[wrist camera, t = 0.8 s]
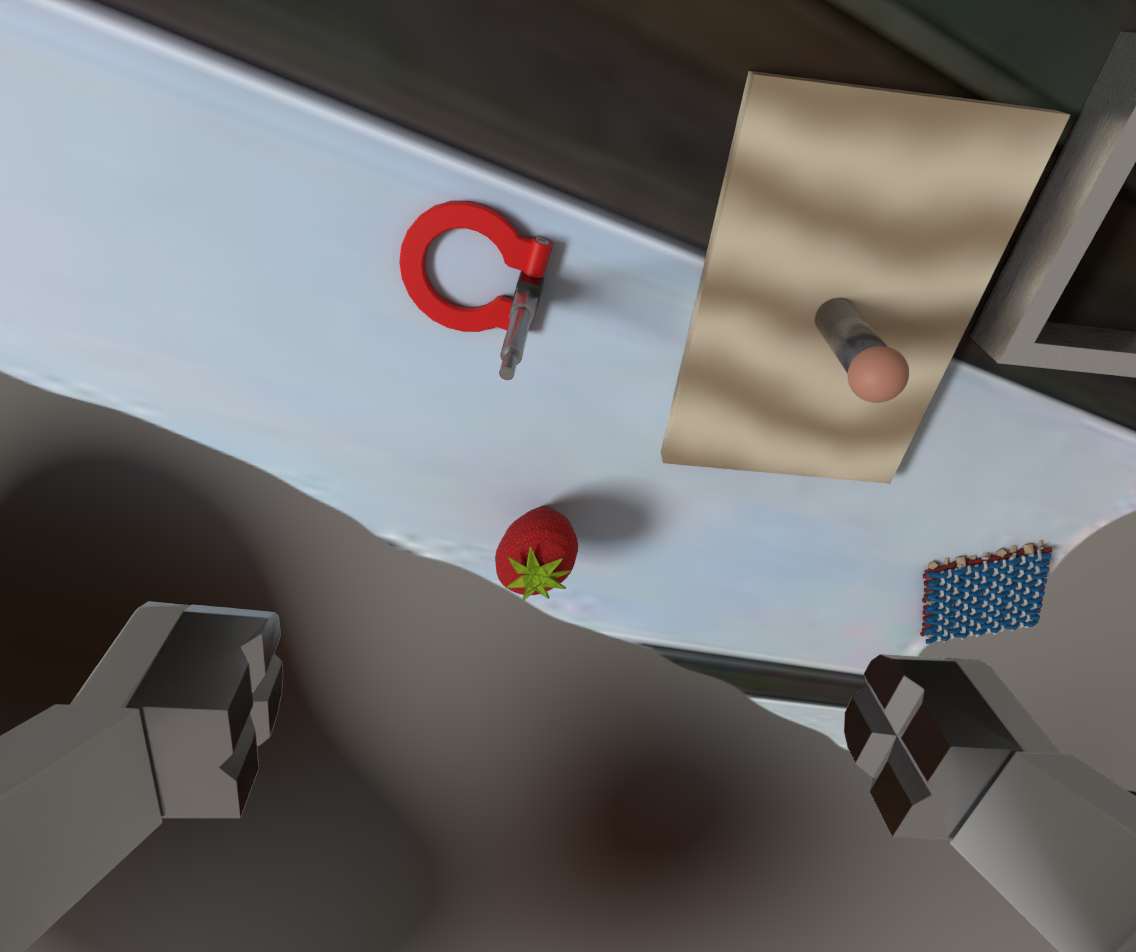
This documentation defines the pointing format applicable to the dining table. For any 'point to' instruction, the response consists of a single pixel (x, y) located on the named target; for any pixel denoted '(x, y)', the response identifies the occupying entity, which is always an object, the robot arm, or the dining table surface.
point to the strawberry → (536, 553)
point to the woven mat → (984, 593)
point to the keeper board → (845, 271)
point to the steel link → (1069, 237)
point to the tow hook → (502, 309)
